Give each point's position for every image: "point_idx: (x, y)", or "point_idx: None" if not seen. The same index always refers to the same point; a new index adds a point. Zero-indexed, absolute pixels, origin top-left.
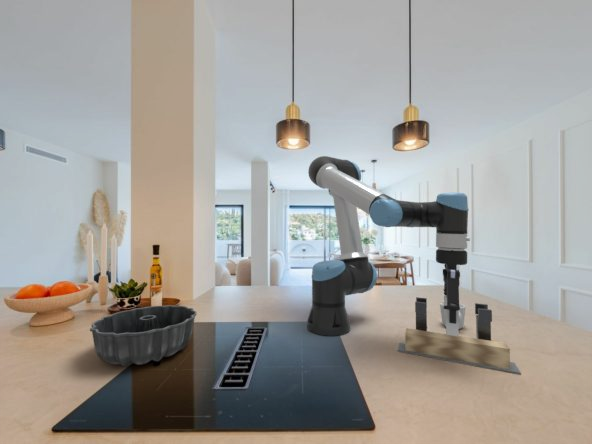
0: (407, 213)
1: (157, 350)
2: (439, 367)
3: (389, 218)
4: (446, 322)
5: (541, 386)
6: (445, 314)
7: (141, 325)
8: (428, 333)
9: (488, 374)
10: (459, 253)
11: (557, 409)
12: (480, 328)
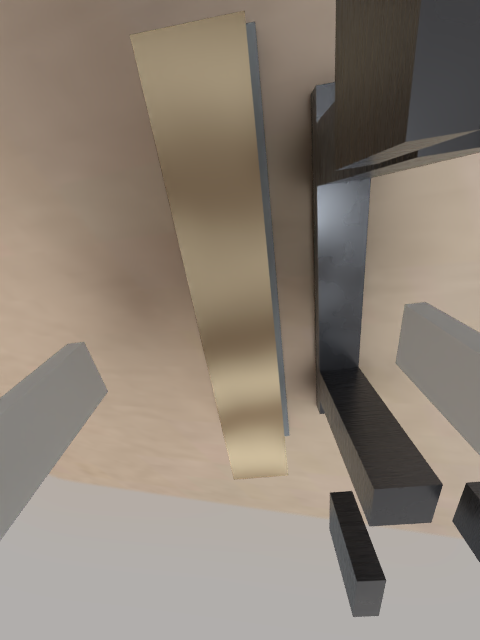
0: None
1: None
2: (123, 266)
3: None
4: (2, 397)
5: (195, 458)
6: (422, 329)
7: None
8: (221, 211)
9: (180, 383)
10: None
11: (114, 465)
12: (349, 445)
